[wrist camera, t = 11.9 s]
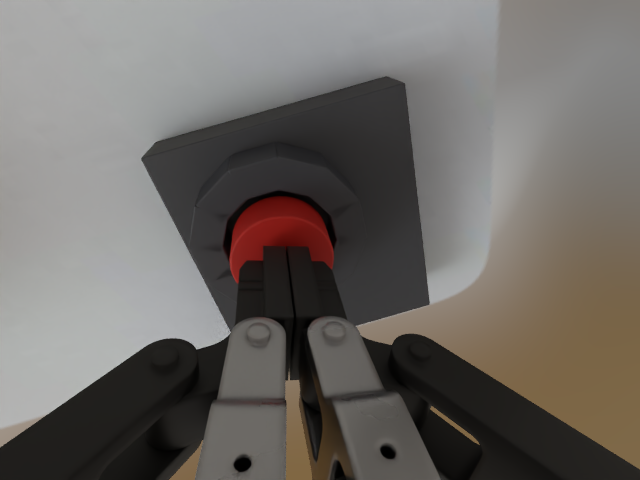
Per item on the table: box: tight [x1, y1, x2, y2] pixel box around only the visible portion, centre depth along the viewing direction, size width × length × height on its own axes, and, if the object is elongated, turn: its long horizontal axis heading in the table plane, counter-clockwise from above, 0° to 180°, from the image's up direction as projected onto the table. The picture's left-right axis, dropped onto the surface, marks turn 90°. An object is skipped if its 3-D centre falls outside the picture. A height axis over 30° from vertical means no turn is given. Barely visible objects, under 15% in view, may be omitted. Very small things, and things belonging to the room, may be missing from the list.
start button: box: [230, 196, 334, 284], centre depth 13 cm, size 4×4×2 cm
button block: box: [141, 76, 429, 331], centre depth 16 cm, size 11×10×4 cm
